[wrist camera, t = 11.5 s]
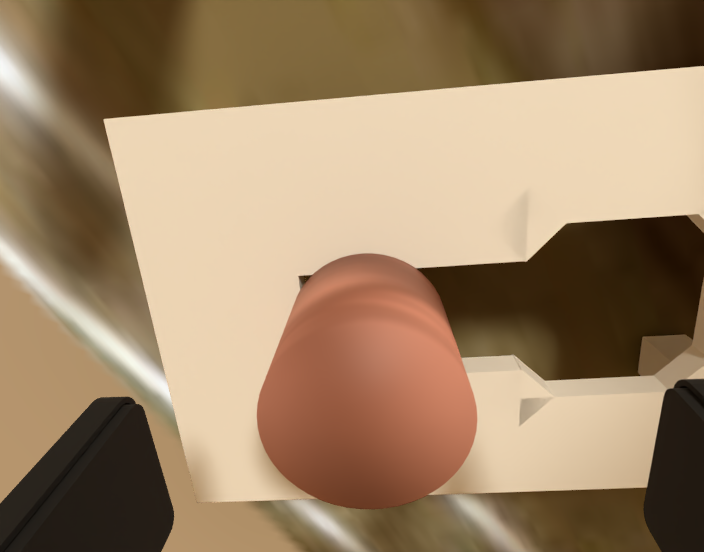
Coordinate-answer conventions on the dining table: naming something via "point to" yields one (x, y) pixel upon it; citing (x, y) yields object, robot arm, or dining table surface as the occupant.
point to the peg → (367, 387)
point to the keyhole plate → (406, 251)
